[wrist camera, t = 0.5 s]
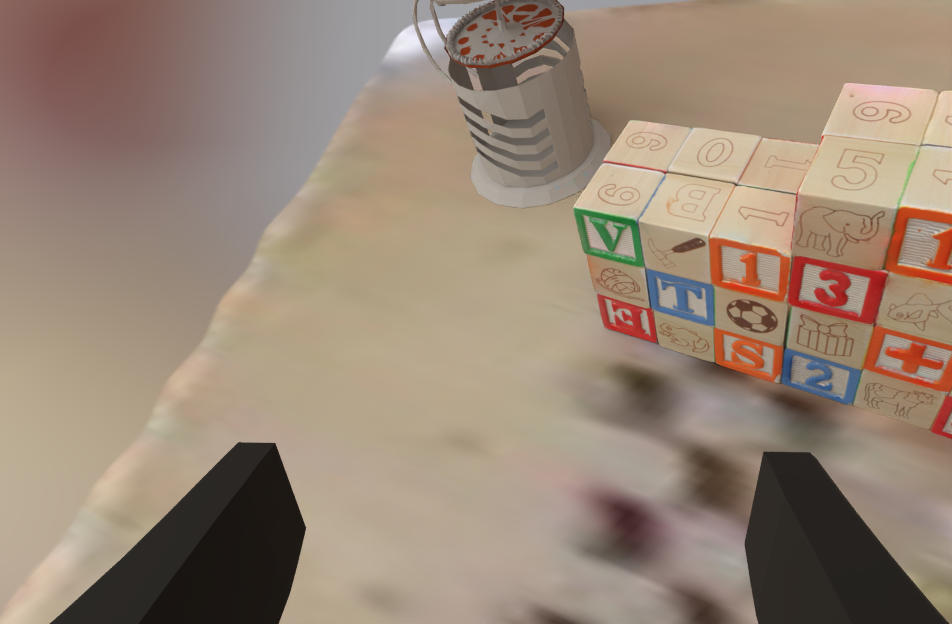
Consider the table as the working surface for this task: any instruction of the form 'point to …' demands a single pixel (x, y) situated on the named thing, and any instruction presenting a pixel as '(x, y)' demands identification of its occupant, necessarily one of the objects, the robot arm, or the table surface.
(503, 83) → the french press
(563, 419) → the table surface
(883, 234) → the stack of blocks
